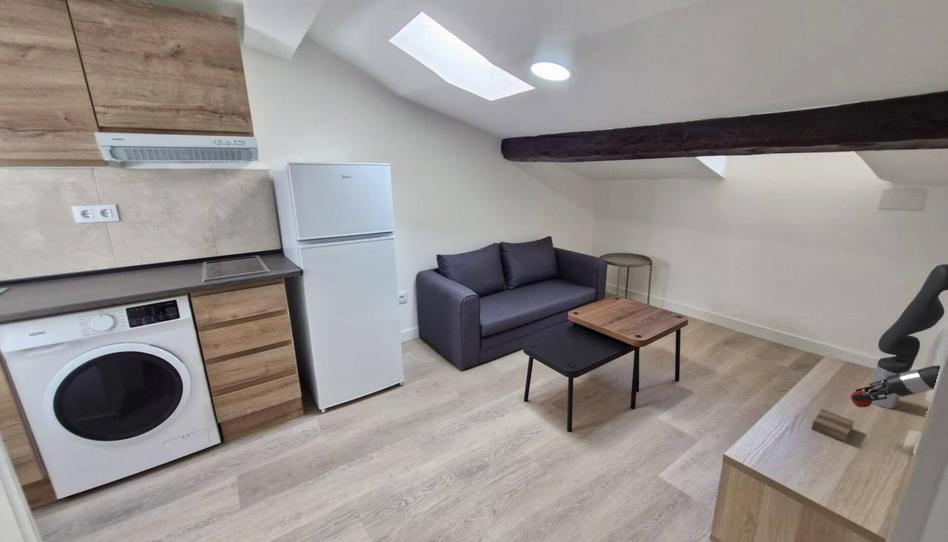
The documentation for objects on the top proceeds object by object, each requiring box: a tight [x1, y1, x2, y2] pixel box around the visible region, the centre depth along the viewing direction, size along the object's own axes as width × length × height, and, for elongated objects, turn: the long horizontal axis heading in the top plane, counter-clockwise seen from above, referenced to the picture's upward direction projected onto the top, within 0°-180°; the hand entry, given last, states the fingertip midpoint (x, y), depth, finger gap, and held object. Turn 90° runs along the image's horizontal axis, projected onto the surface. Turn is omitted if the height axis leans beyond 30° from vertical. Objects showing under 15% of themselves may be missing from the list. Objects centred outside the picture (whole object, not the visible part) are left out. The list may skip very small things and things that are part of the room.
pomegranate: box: [850, 389, 873, 408], centre depth 146 cm, size 6×6×8 cm
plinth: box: [811, 409, 855, 444], centre depth 152 cm, size 12×10×4 cm
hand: (855, 395), depth 147 cm, fingers closed on pomegranate, 5 cm apart
